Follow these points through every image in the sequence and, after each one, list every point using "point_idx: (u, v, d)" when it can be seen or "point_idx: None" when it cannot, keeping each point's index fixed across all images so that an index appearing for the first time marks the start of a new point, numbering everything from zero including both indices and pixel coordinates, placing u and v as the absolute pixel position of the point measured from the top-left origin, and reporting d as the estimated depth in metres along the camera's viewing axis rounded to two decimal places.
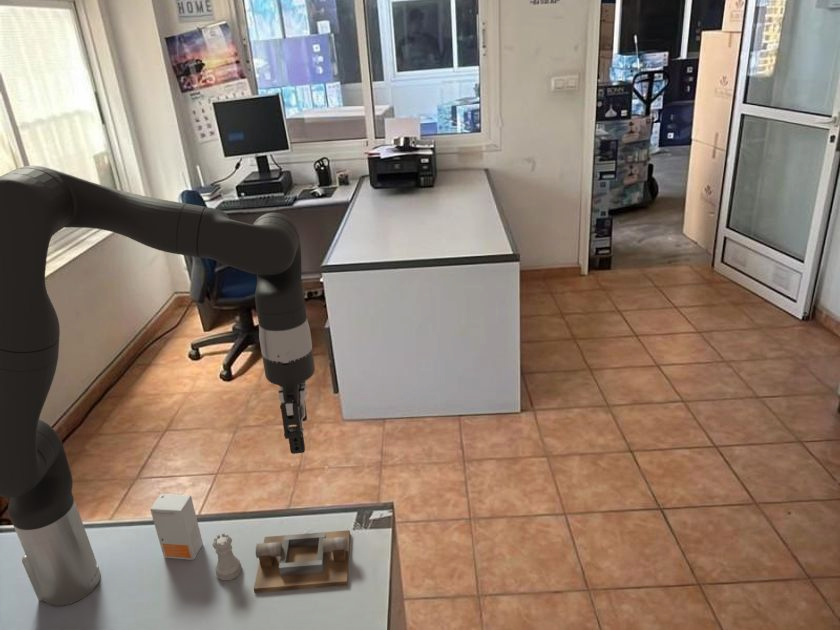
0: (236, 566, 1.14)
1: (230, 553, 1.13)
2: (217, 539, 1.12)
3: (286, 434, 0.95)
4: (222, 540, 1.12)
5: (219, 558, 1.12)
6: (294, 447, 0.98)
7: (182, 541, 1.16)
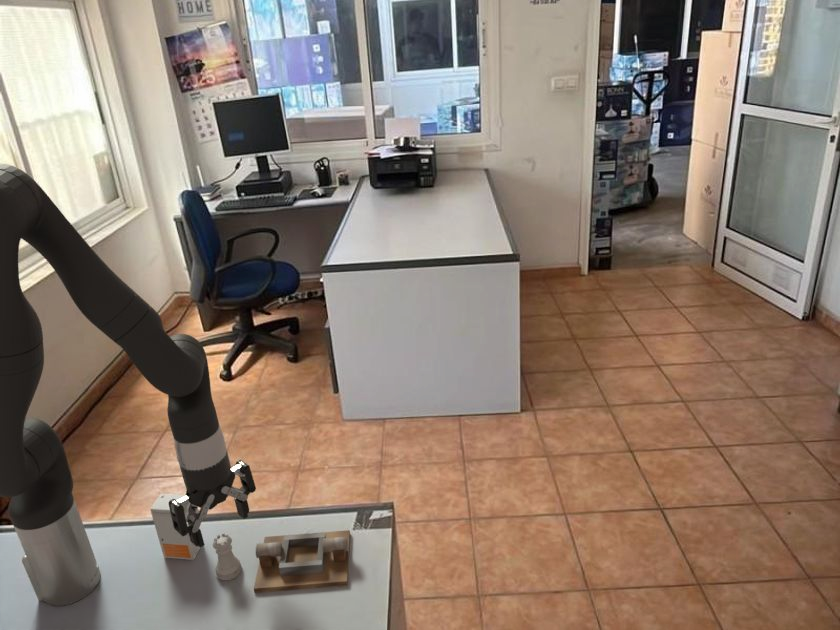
0: (236, 566, 1.14)
1: (230, 553, 1.13)
2: (217, 539, 1.12)
3: None
4: (222, 540, 1.12)
5: (219, 558, 1.12)
6: None
7: (182, 541, 1.16)
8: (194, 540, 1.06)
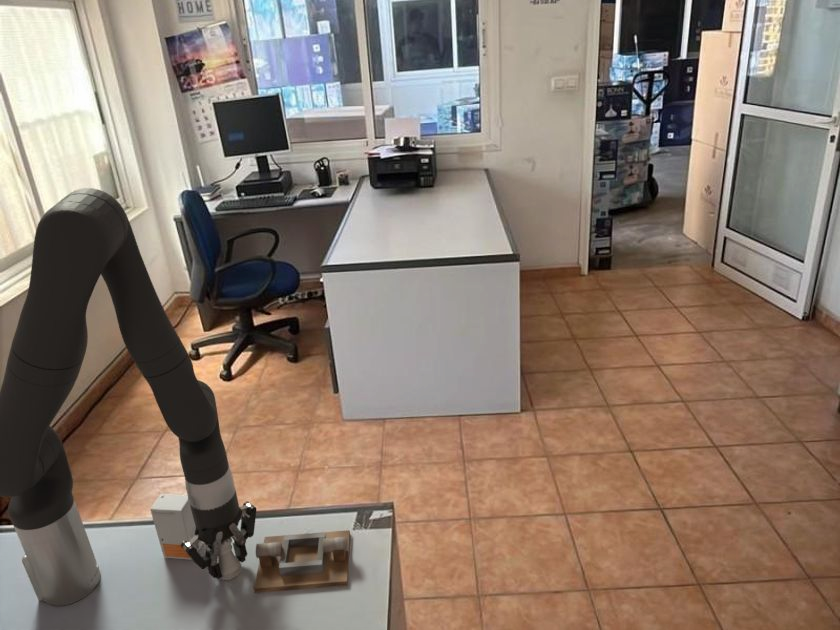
0: (237, 566, 1.14)
1: (230, 553, 1.13)
2: None
3: None
4: None
5: (219, 558, 1.12)
6: None
7: (182, 541, 1.16)
8: (212, 572, 1.11)
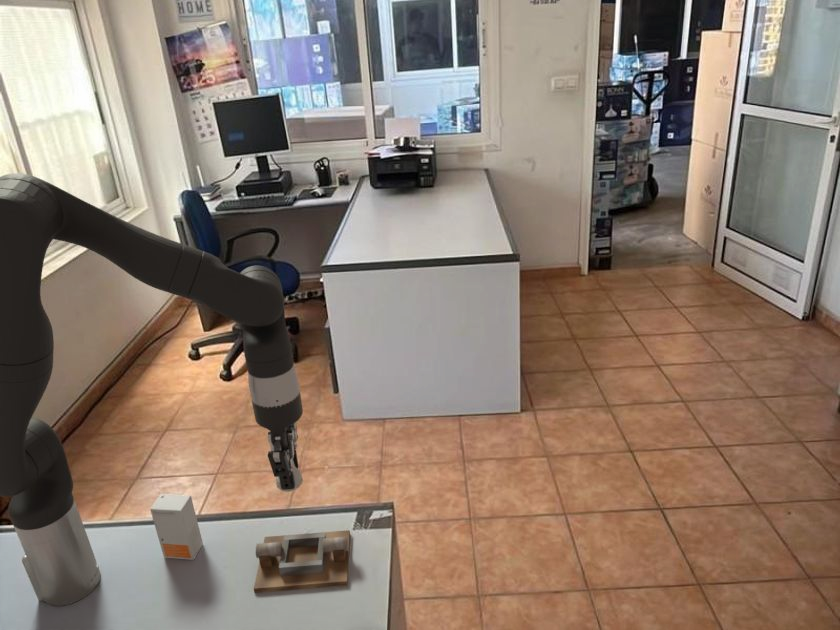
0: (299, 471, 1.09)
1: None
2: None
3: None
4: None
5: None
6: None
7: (182, 541, 1.16)
8: (290, 481, 1.04)
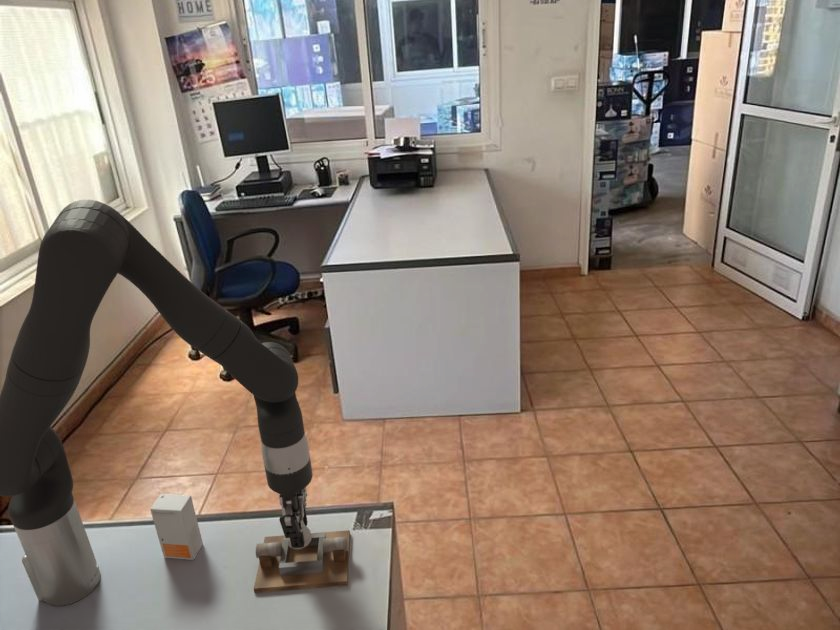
0: (308, 529, 1.14)
1: None
2: None
3: None
4: None
5: None
6: None
7: (182, 541, 1.16)
8: (300, 541, 1.10)
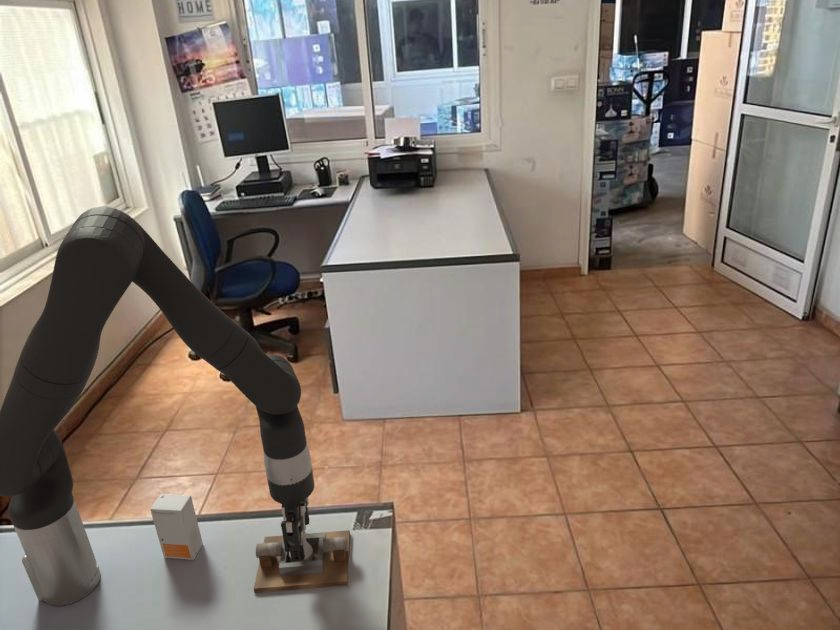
0: (310, 546, 1.16)
1: None
2: None
3: None
4: None
5: None
6: None
7: (182, 541, 1.16)
8: (300, 554, 1.09)
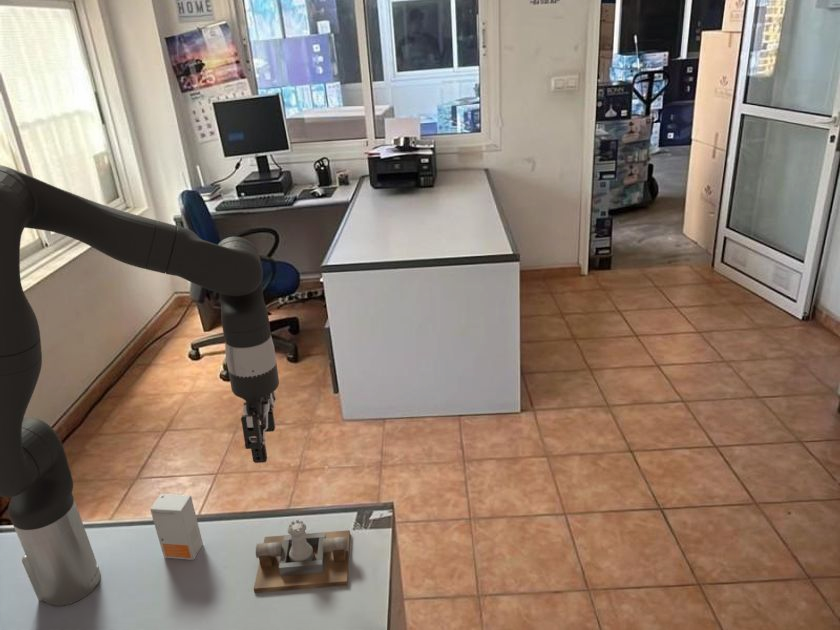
0: (310, 546, 1.16)
1: None
2: (292, 528, 1.12)
3: None
4: (298, 525, 1.13)
5: (298, 545, 1.13)
6: None
7: (181, 541, 1.16)
8: (262, 454, 1.04)
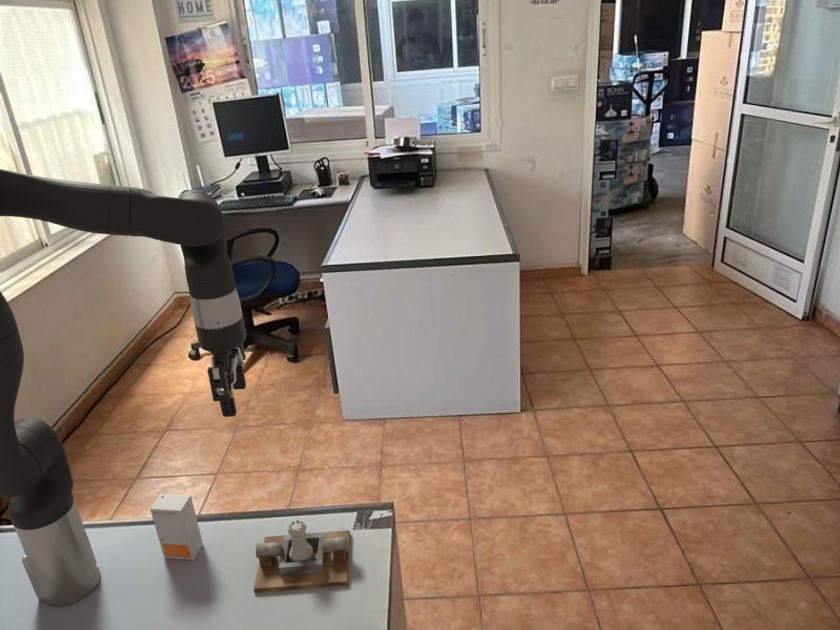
0: (310, 546, 1.16)
1: None
2: (292, 528, 1.12)
3: None
4: (298, 525, 1.13)
5: (298, 545, 1.13)
6: None
7: (181, 541, 1.16)
8: (230, 408, 1.05)
